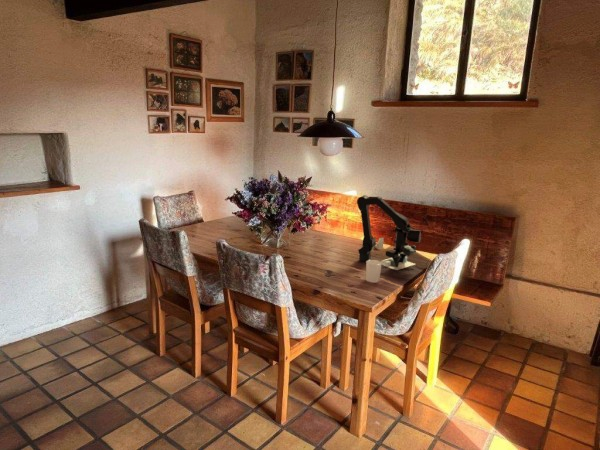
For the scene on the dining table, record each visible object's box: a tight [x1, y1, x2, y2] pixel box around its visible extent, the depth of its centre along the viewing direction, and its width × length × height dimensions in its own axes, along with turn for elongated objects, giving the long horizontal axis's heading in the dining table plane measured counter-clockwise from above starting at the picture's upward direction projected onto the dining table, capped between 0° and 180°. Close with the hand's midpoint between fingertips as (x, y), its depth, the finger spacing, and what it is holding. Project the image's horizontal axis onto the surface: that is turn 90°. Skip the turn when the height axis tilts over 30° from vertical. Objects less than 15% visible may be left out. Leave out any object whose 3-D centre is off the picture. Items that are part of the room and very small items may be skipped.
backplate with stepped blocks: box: [380, 256, 416, 271], centre depth 246 cm, size 18×11×4 cm, turn 129°
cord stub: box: [389, 259, 406, 270], centre depth 242 cm, size 3×10×3 cm, turn 40°
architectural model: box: [375, 237, 384, 251], centre depth 280 cm, size 3×7×7 cm, turn 144°
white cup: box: [365, 259, 383, 284], centre depth 221 cm, size 8×8×10 cm
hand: (398, 266), depth 241 cm, fingers closed on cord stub, 3 cm apart
